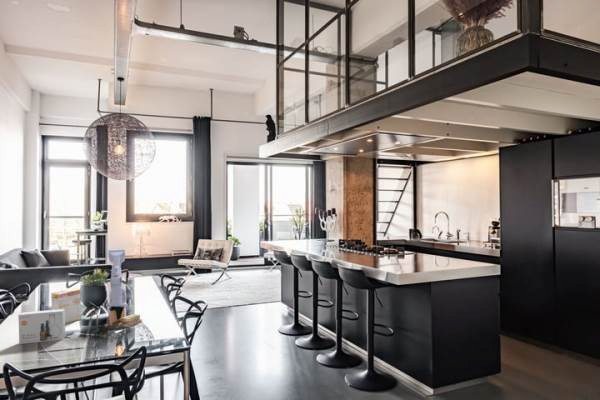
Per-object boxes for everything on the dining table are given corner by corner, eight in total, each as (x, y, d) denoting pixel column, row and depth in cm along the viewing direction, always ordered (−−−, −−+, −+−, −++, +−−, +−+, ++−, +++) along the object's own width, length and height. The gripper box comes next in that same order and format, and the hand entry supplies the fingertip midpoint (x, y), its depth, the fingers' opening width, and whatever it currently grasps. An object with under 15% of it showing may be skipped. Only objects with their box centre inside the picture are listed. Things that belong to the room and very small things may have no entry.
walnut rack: (103, 326, 245) (103, 322, 245) (118, 321, 256) (118, 317, 256) (129, 329, 238) (129, 324, 238) (143, 323, 250) (143, 319, 250)
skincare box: (18, 344, 216) (17, 314, 216) (22, 341, 221) (21, 312, 222) (63, 340, 222) (62, 310, 222) (65, 337, 227) (65, 308, 228)
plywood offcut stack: (118, 326, 241) (118, 318, 242) (132, 321, 252) (132, 313, 252) (128, 327, 239) (128, 319, 239) (141, 321, 249) (141, 314, 249)
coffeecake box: (75, 318, 267) (74, 288, 267) (81, 319, 263) (80, 289, 264) (51, 324, 254) (50, 292, 254) (57, 325, 250) (57, 293, 251)
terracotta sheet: (109, 325, 244) (109, 311, 245) (122, 320, 254) (121, 307, 254) (112, 325, 244) (111, 311, 244) (124, 320, 253) (124, 307, 253)
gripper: (102, 297, 248) (102, 319, 248) (121, 298, 243) (121, 321, 243) (111, 294, 254) (111, 316, 254) (129, 295, 249) (130, 318, 249)
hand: (117, 318), depth 249 cm, fingers closed on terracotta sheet, 2 cm apart
